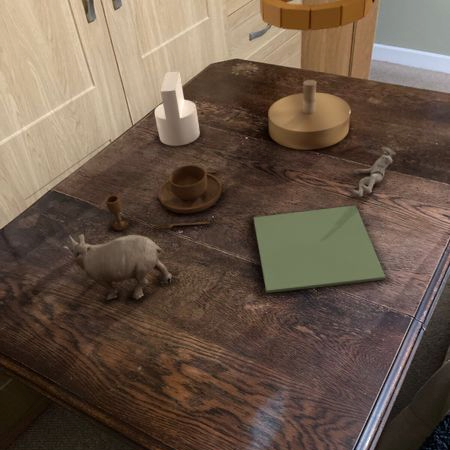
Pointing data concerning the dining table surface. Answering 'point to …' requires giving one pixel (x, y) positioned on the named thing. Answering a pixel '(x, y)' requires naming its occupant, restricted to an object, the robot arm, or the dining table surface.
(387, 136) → the dining table surface
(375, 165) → the soldier figure
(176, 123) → the base with upright slab
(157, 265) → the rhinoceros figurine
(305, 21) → the ring
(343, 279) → the mat
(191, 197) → the place setting
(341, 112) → the ring stand
